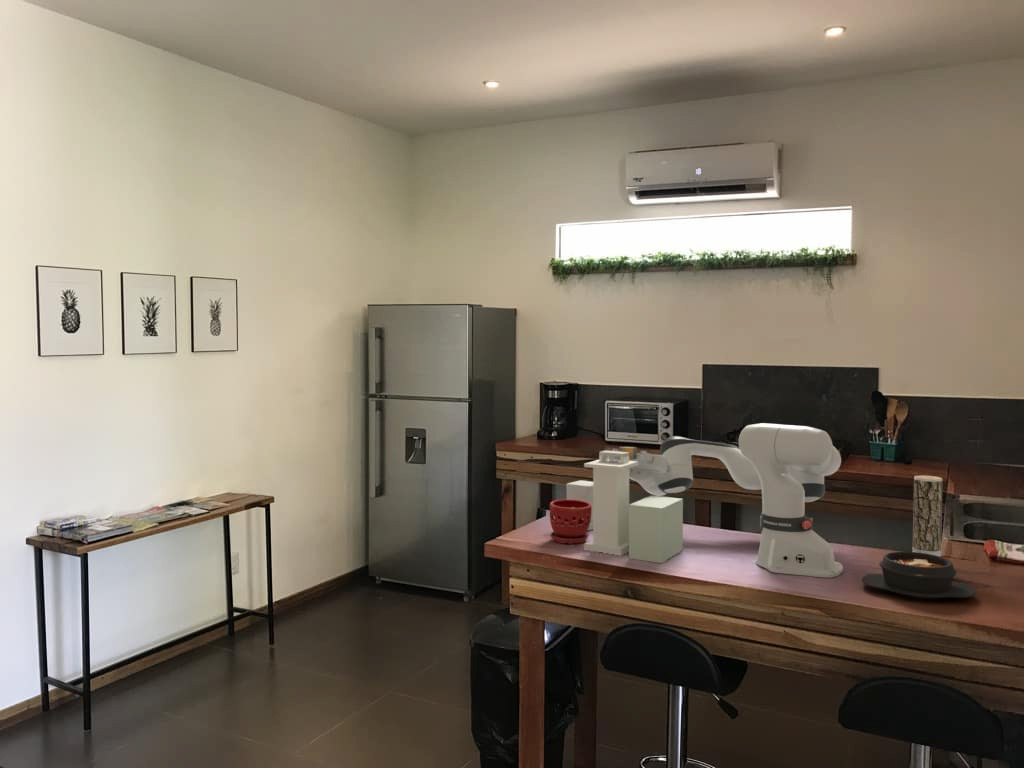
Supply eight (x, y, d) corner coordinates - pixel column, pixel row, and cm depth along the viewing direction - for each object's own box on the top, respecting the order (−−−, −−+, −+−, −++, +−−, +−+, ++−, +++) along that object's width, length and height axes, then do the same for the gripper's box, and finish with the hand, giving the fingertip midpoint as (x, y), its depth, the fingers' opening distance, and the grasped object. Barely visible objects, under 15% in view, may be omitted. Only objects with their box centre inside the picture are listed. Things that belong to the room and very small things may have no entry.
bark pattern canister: (925, 573, 211) (927, 480, 210) (906, 566, 217) (908, 476, 216) (946, 571, 213) (948, 479, 211) (926, 564, 219) (928, 475, 218)
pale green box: (682, 550, 236) (682, 498, 235) (661, 563, 222) (662, 508, 222) (651, 546, 241) (651, 495, 240) (629, 558, 228) (629, 504, 227)
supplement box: (603, 526, 268) (603, 482, 267) (588, 531, 261) (588, 486, 260) (581, 522, 273) (580, 479, 272) (565, 527, 266) (565, 483, 266)
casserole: (860, 597, 192) (861, 563, 191) (861, 576, 209) (862, 545, 208) (980, 611, 182) (981, 575, 181) (970, 588, 198) (971, 555, 198)
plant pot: (553, 546, 241) (553, 507, 240) (546, 536, 254) (546, 499, 253) (595, 545, 243) (595, 506, 242) (586, 535, 256) (586, 498, 255)
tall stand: (637, 546, 240) (638, 451, 239) (621, 555, 230) (621, 456, 229) (602, 541, 247) (602, 449, 245) (584, 550, 237) (584, 453, 235)
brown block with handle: (637, 458, 248) (637, 447, 248) (617, 462, 236) (618, 450, 236) (624, 457, 250) (624, 446, 250) (605, 461, 238) (605, 449, 238)
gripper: (672, 480, 251) (657, 464, 241) (613, 475, 262) (597, 459, 252) (675, 462, 253) (661, 445, 243) (617, 457, 264) (601, 440, 254)
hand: (628, 452), depth 247 cm, fingers open, 8 cm apart
